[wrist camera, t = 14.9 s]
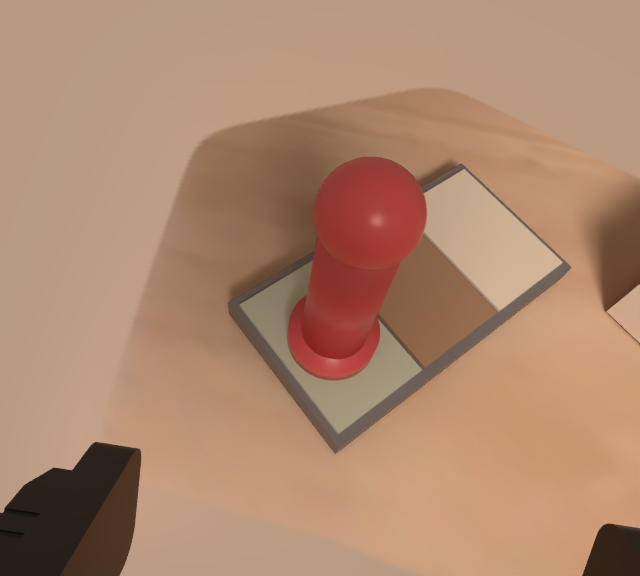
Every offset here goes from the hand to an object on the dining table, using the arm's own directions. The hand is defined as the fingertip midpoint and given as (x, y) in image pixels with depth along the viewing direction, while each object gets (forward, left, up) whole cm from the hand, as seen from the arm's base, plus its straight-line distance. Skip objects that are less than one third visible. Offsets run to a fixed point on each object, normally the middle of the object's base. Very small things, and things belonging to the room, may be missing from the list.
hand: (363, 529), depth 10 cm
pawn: (-8, -7, -15) cm, 18 cm away
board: (-13, -7, -17) cm, 22 cm away
